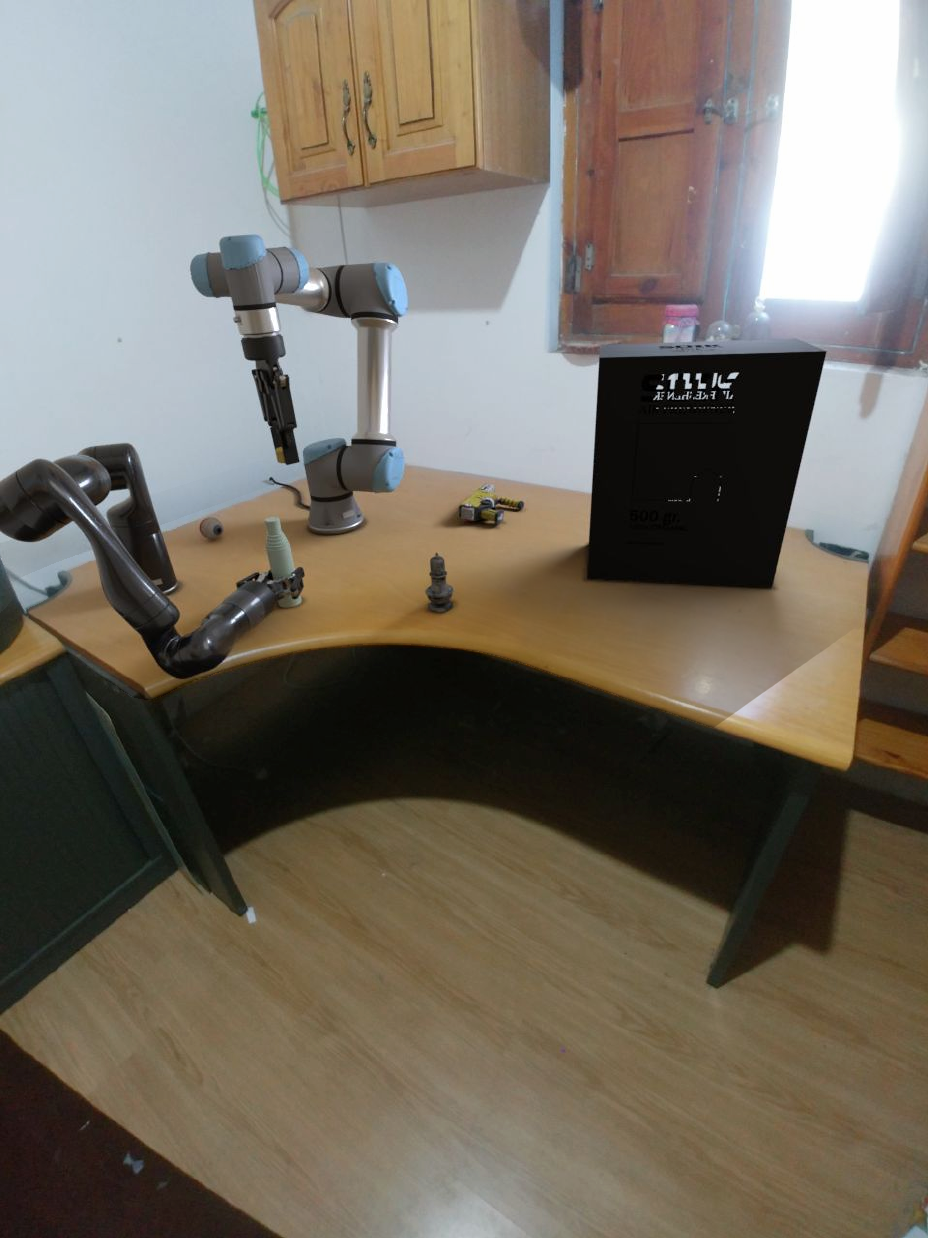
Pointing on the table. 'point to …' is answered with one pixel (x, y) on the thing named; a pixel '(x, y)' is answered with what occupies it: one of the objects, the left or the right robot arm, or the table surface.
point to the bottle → (279, 557)
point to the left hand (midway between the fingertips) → (290, 570)
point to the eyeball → (211, 528)
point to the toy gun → (486, 505)
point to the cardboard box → (698, 459)
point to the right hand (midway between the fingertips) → (288, 460)
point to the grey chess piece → (439, 586)
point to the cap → (280, 455)
